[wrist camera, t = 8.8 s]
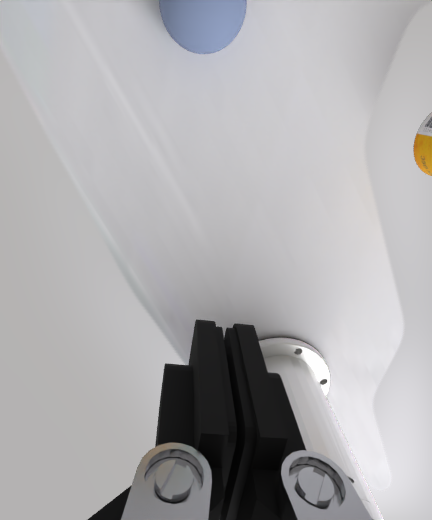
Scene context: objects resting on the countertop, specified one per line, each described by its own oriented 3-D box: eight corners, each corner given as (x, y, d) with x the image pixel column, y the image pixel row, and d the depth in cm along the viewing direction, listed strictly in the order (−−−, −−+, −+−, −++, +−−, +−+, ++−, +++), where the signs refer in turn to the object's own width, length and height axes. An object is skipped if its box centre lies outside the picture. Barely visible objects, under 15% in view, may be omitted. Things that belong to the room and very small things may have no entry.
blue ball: (269, 18, 21) (258, 7, 26) (210, -83, 19) (208, -76, 23) (197, 81, 23) (198, 62, 28) (134, 0, 21) (146, -9, 25)
